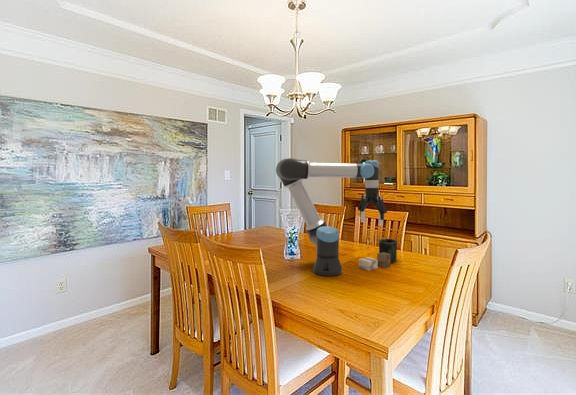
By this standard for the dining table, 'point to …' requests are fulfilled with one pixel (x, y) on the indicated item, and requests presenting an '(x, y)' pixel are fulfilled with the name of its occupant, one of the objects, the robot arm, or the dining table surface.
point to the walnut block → (383, 259)
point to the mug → (389, 248)
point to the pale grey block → (368, 263)
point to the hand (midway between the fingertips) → (371, 223)
